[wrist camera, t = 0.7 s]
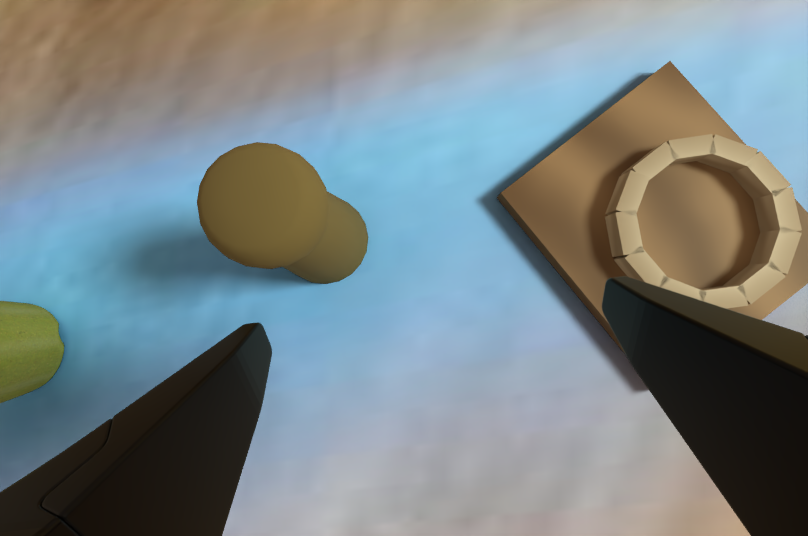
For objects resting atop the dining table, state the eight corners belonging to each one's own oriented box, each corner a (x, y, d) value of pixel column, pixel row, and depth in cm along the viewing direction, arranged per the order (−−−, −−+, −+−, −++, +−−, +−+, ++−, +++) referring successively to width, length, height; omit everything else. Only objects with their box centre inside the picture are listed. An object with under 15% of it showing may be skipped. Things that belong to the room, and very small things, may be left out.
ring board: (654, 389, 23) (682, 400, 20) (496, 197, 24) (505, 187, 21) (822, 255, 23) (869, 251, 20) (657, 72, 24) (683, 48, 22)
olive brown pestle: (369, 281, 24) (329, 273, 13) (281, 286, 24) (167, 280, 13) (366, 194, 24) (324, 112, 13) (279, 199, 24) (167, 122, 13)
